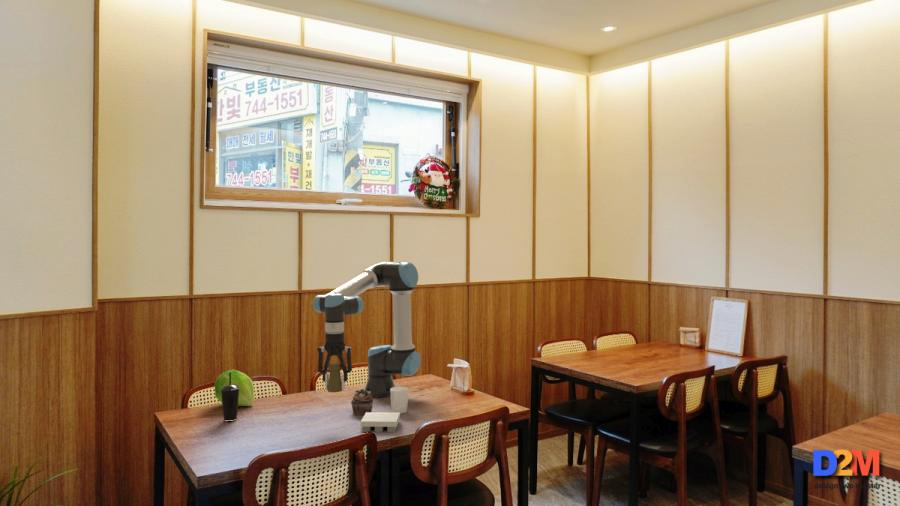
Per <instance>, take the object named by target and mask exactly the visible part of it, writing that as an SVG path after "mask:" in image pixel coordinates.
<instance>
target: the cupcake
mask: <svg viewBox="0 0 900 506" xmlns="http://www.w3.org/2000/svg"><path fill="white" fill-rule="evenodd" d="M373 398H374V397H372V396H371V392H370V391H369V390H368V391H366V390H365V388H362V389H359V390H358V389H357V390H355V392H353V396H352V400H351V402H350V404H351V408H352V414H353V415H356V416H364V415H365V413H366V412H373V405H374V399H373Z"/></svg>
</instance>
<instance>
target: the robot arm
mask: <svg viewBox="0 0 900 506" xmlns="http://www.w3.org/2000/svg"><path fill="white" fill-rule="evenodd" d="M418 281H419V272H418V270H417V267H416V266H415V265H414V264H413V263H411V262H410V261H409V262H408V261H407V262H406V261H383V262H382V261H381V262H379V263H376V264H374V265H371V266H369V267H368V268H366V269H364V270H363V271H362V272H361V273H360V274H359V275H358V276H356V277H354V278H353V279H351V280H349V281H347V282H346V283H344V284H342V285H340V286H339V287H337V288H336V289H334V290H332V291H331V292H328V293H326V294H320V295H316V296H315V297H314V298H313V300H312V309H313V310H314V311H315V312H316V313H321V314H325V315H324V318H325V320H324V325H325V326H324V328H325V329H324V331H325V334H324V335H325V338H324V340H325V341H324V342H325V343H324V346H319V347H318V348H317V352H318V364H317V372H318V373H321V374H322V381H323V382H324V385H325V386H324V389H325V390H324V391H328V383H329V375H330V372H328V370H329V369H328V367H329V365H330V364H331V363H330V362H331V359H332V357H333V356H335V357H336V356H337V358H338V360H339V363H340V364H341V367H342V368H341V371H342V373H341V381H342V391H345V389H346V382H347V381H348V376H349V375H348V374H349V373H351V372H352V371H353V364H352V363H353V362H352V351H353V347H352V346H348V345H346V344H345V316H353V315H357V314H360V313H362V311H363V310H364V307H365V304H364V300H363V298H362V297H360V296H359V295H361V294H363V293H364V292H365V291H367V290H369V289H374V288H376V287H383V286H384V287H388V292H389V293H391V294H392V317H393V318H392V321H393V323H392V325H393V345H391V344H384V345H377V346H373V347H370V348H368V351H367V381H366V384H365V387H364V391H365V390H366V391H368V390H369V391H370V392H371V396H372V398H384V397H391V393H390V389H391V388H393V387H396V385H395V381H394V379H393V375H399V376H409V377H410V376H413V375H415V374H416V373H417V372H418V370H419V369H420V365H421V361H422V360H421V354H420V352H418V351H416V346H415V344H413V342H412V341H413V335H412V334H413V333H412V331H413V330H412V329H413V328H412V327H413V326H412V301H411V299H412V298H411V295H412V293H413V291H414V287H416V286H417V285H418ZM324 351H325V352H327V354H326V359H325V363H324ZM344 351H345V352H346V361H345V359H344V354H343V352H344ZM346 363H347V365H346Z"/></svg>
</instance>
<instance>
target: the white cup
mask: <svg viewBox="0 0 900 506" xmlns="http://www.w3.org/2000/svg"><path fill="white" fill-rule="evenodd" d="M390 393H391V396H390V406H391V412H400V415H401V414H404V413H407V412H408V406H409V405H408V404H409V402H408V401H409V387H406V386H395V387H393V388H391V389H390Z"/></svg>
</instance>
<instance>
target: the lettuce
mask: <svg viewBox="0 0 900 506" xmlns="http://www.w3.org/2000/svg"><path fill="white" fill-rule="evenodd" d="M229 372H231V384H232V385H237V386H240V389H239V397H238V407H251V406H252V405H253V404H254V402H255V388H254V383H253V380H252V378H250V377H249V376H248V375H247V374H246V373H244V372H241V371H239V370H236V369H230V370H226V371H224V372H222V373H220V375H219V376H218V377H217V379H216V381H215V382H214V395H215V396H214V397H215V398H216V399H218V401H219V402H220V403H221V404H222V395H221V390H220V388H222V387H224V386H226V385H229Z"/></svg>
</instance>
